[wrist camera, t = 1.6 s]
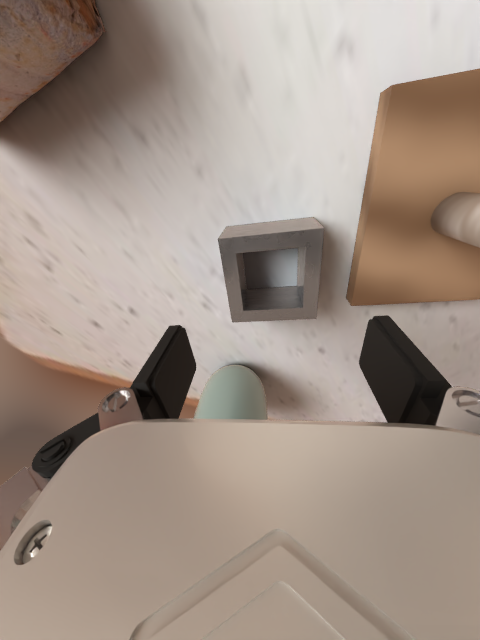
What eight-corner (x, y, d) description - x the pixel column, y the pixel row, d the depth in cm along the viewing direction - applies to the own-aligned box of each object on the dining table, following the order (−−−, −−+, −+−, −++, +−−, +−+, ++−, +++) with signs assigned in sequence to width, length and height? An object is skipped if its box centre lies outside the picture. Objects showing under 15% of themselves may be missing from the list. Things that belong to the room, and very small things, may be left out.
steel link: (226, 226, 18) (217, 239, 15) (313, 217, 17) (324, 227, 14) (237, 299, 22) (232, 322, 19) (308, 295, 21) (316, 318, 18)
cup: (229, 401, 32) (216, 481, 24) (196, 367, 28) (168, 447, 20) (277, 386, 29) (282, 471, 21) (247, 346, 26) (238, 430, 17)
